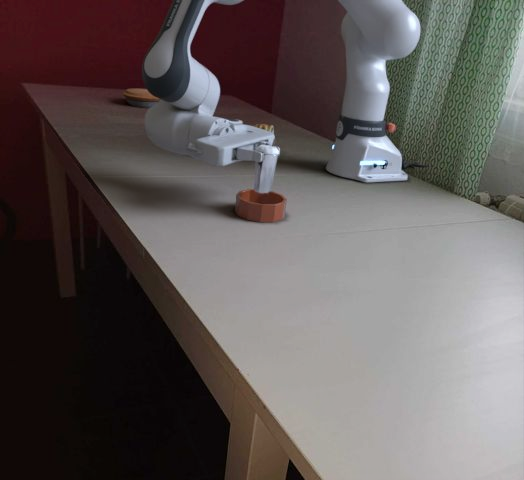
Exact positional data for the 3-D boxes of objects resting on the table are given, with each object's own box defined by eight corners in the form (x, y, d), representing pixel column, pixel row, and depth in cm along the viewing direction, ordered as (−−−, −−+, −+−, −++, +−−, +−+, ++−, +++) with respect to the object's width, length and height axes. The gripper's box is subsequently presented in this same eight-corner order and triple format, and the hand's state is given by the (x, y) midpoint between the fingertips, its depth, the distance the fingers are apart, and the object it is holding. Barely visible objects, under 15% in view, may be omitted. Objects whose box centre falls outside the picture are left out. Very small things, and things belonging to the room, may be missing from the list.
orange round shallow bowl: (275, 205, 117) (277, 189, 115) (290, 222, 109) (292, 205, 107) (230, 205, 114) (231, 188, 112) (243, 222, 106) (244, 205, 104)
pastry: (242, 135, 172) (243, 122, 170) (246, 131, 178) (247, 119, 176) (270, 139, 171) (272, 127, 169) (274, 136, 177) (275, 123, 175)
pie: (116, 105, 192) (115, 89, 190) (131, 99, 205) (131, 84, 203) (157, 111, 191) (157, 95, 188) (170, 104, 204) (171, 90, 201)
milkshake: (278, 192, 110) (285, 141, 105) (267, 197, 106) (275, 144, 101) (258, 187, 112) (264, 136, 107) (247, 191, 107) (253, 139, 102)
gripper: (181, 130, 100) (242, 145, 95) (240, 118, 115) (297, 131, 110) (180, 164, 104) (240, 181, 98) (238, 148, 119) (293, 162, 114)
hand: (270, 154), depth 104 cm, fingers closed on milkshake, 4 cm apart
